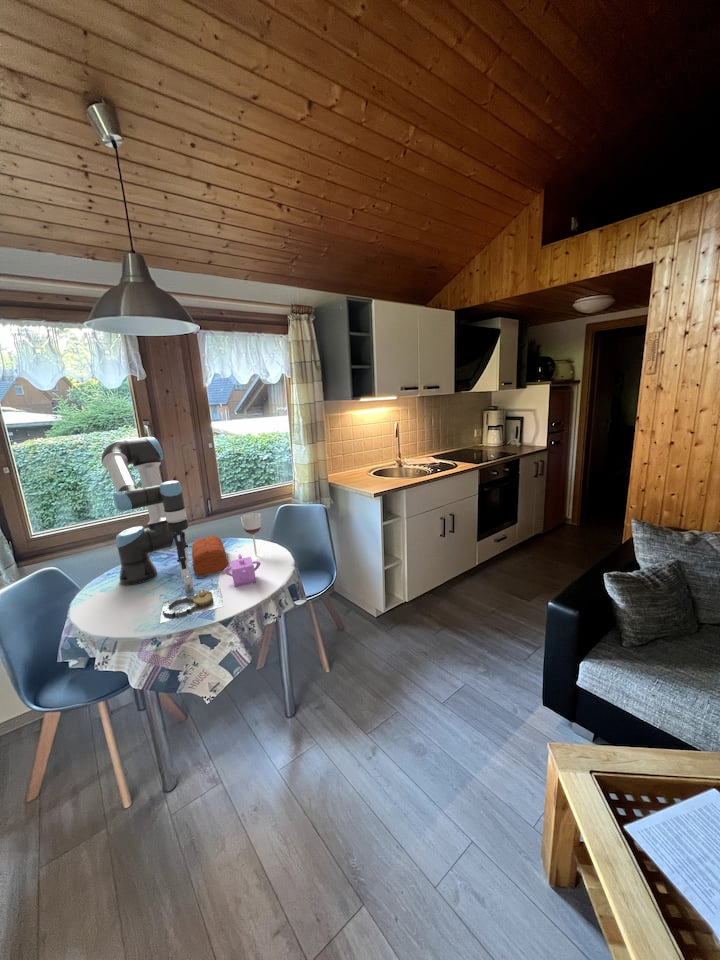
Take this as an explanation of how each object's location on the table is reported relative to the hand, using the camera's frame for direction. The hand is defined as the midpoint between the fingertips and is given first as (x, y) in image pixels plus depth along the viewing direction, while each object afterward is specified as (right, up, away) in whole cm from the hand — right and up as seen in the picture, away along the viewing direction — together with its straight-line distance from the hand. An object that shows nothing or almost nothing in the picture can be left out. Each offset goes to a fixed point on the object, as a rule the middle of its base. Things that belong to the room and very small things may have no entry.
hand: (185, 569), depth 158 cm
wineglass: (+19, -3, +36) cm, 41 cm away
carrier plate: (+6, -13, -7) cm, 16 cm away
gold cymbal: (+10, -11, -6) cm, 16 cm away
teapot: (+21, -8, +10) cm, 25 cm away
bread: (-3, -5, +33) cm, 34 cm away
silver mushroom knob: (+1, -11, +3) cm, 12 cm away
